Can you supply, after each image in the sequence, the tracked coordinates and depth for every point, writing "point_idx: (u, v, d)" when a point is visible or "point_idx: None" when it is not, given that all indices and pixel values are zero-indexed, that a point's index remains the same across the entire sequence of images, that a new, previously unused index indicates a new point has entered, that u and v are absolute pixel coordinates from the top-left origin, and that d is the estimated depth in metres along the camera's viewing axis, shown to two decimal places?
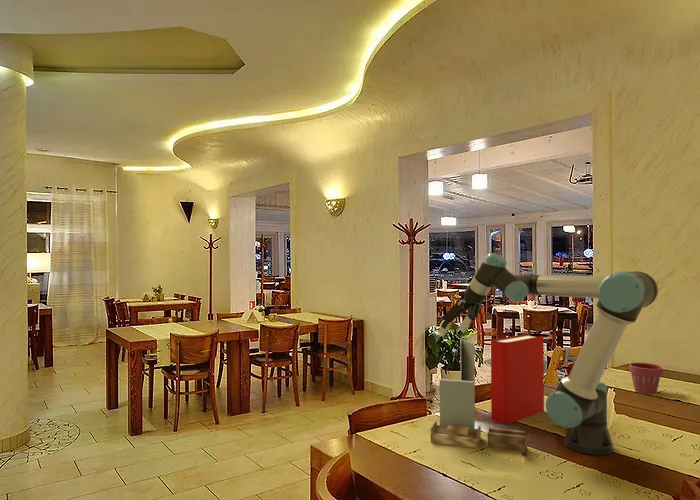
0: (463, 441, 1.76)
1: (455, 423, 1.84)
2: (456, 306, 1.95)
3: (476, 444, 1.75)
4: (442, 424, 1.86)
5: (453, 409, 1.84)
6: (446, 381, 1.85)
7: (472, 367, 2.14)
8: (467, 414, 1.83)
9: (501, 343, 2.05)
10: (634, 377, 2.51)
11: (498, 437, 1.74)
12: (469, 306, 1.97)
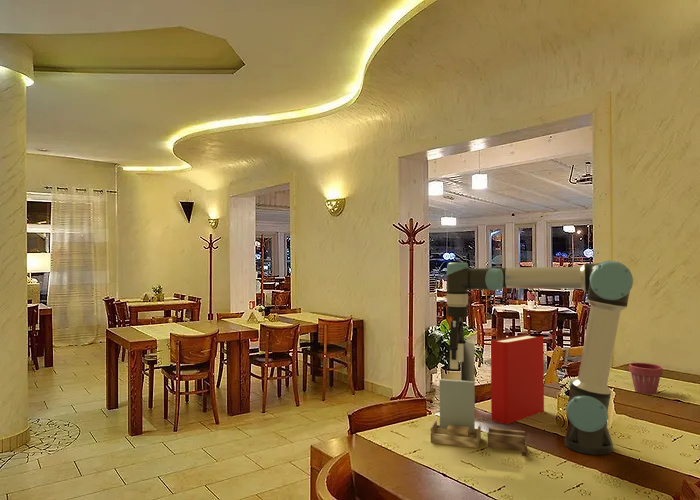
0: (463, 441, 1.76)
1: (455, 423, 1.84)
2: (453, 329, 1.79)
3: (476, 444, 1.75)
4: (442, 424, 1.86)
5: (453, 409, 1.84)
6: (446, 381, 1.85)
7: (472, 367, 2.14)
8: (467, 414, 1.83)
9: (501, 343, 2.05)
10: (634, 377, 2.51)
11: (498, 437, 1.74)
12: (461, 324, 1.83)
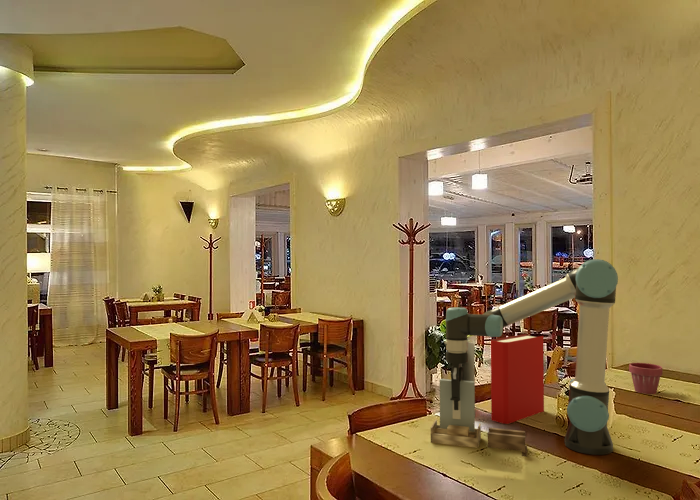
0: (463, 441, 1.76)
1: (455, 423, 1.84)
2: (454, 381, 1.80)
3: (476, 444, 1.75)
4: (442, 424, 1.86)
5: None
6: (446, 381, 1.85)
7: (472, 367, 2.14)
8: (467, 414, 1.83)
9: (501, 343, 2.05)
10: (634, 377, 2.51)
11: (498, 437, 1.74)
12: (461, 371, 1.83)
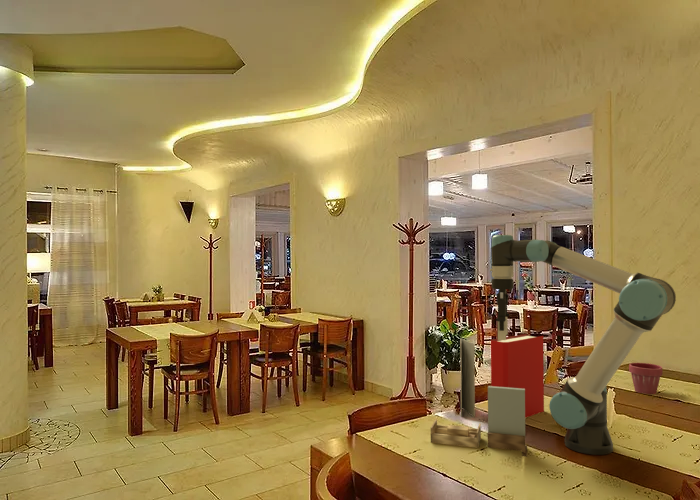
0: (463, 441, 1.76)
1: (505, 432, 1.76)
2: (501, 300, 1.80)
3: (476, 444, 1.75)
4: None
5: (502, 418, 1.76)
6: (495, 388, 1.77)
7: (472, 367, 2.14)
8: (518, 423, 1.74)
9: (501, 343, 2.05)
10: (634, 377, 2.51)
11: (498, 437, 1.74)
12: (507, 296, 1.84)
